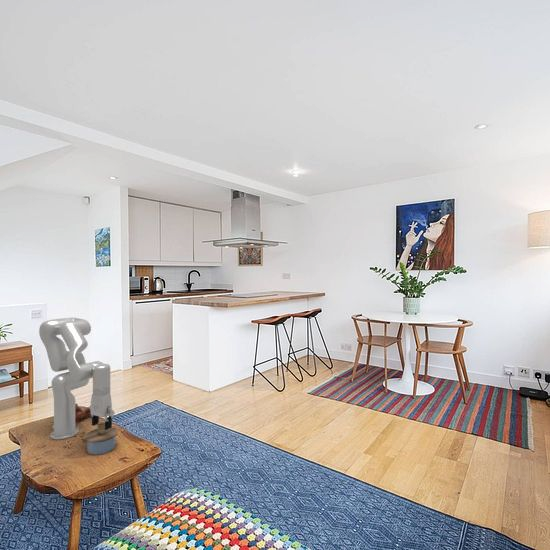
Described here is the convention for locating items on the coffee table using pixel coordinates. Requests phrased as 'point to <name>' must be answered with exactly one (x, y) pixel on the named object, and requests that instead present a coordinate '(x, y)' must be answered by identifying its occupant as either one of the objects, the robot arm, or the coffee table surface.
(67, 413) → the robot arm
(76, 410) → the anatomical model
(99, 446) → the bowl
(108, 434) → the lid
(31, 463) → the coffee table surface
